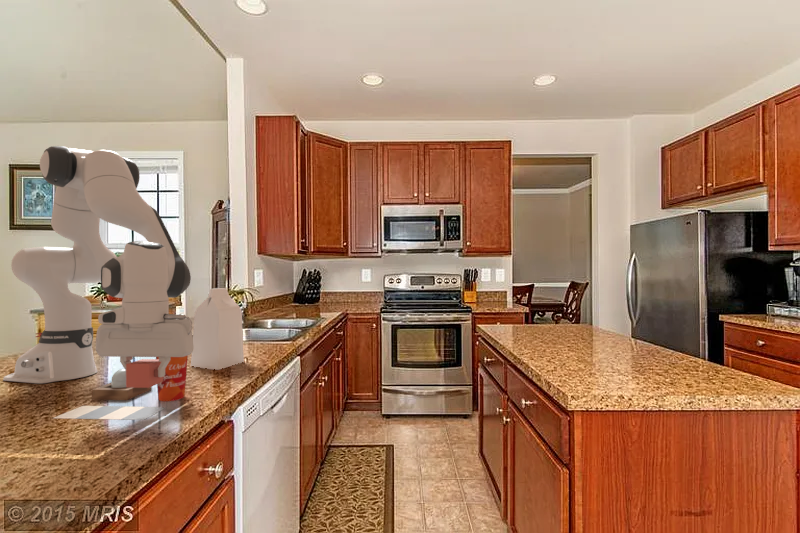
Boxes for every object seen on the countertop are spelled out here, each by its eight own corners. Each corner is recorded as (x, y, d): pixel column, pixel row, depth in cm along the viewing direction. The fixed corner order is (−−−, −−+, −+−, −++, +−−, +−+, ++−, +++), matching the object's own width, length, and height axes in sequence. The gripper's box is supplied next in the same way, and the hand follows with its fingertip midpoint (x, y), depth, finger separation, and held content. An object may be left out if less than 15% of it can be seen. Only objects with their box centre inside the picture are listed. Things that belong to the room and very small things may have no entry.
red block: (126, 387, 88) (126, 364, 88) (141, 381, 93) (141, 359, 93) (148, 387, 88) (149, 364, 88) (163, 381, 93) (163, 359, 93)
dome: (106, 396, 102) (106, 371, 102) (120, 391, 106) (120, 366, 106) (125, 397, 101) (125, 371, 101) (138, 391, 106) (138, 366, 106)
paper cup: (152, 406, 96) (153, 347, 96) (154, 397, 103) (155, 342, 103) (189, 402, 100) (190, 344, 100) (189, 393, 107) (190, 340, 107)
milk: (217, 359, 147) (218, 287, 147) (243, 362, 143) (244, 288, 144) (190, 366, 136) (191, 288, 136) (217, 369, 132) (218, 289, 132)
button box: (91, 401, 100) (91, 389, 100) (118, 391, 109) (118, 379, 109) (127, 402, 99) (127, 390, 99) (151, 391, 108) (151, 380, 108)
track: (52, 420, 87) (52, 418, 87) (82, 408, 95) (82, 405, 95) (143, 422, 86) (143, 419, 86) (166, 409, 94) (166, 407, 94)
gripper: (199, 312, 93) (198, 373, 93) (112, 312, 94) (111, 372, 94) (183, 315, 87) (183, 380, 87) (90, 315, 88) (90, 379, 88)
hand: (145, 376), depth 90 cm, fingers closed on red block, 5 cm apart
